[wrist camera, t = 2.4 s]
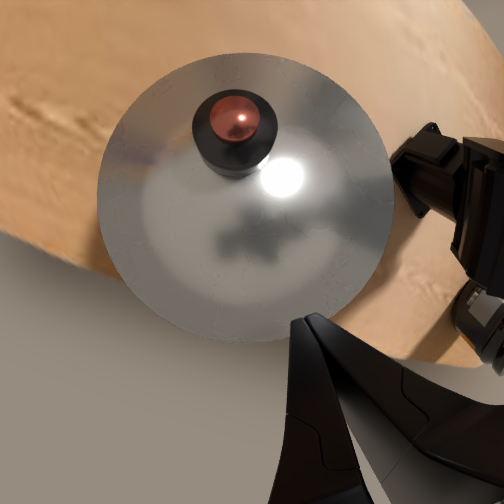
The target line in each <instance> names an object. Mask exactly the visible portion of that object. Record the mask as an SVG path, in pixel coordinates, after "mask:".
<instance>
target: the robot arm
mask: <svg viewBox="0 0 504 504" xmlns="http://www.w3.org/2000/svg"><path fill="white" fill-rule="evenodd" d="M432 127H433V130H432ZM390 165H391V170H392V176H393V178H394V179H395V181H396V182H397V184H398V186H399V187H400V189H401V191H402V193H403V194H404V196H405V198H406V200H407V201H408V203H409V205H410V207H411V209H412V210H413V212H414V214H415V216H416V217H418V218H422V217H424V215H425V214H426V213H427V212H428V211H429V210H430V209H433V210H434V211H436V212H438V213H439V214H441V215H443V216H444V217H446V218H448V219H449V220H451V221H453V222H454V223H456V227H455V232H454V238H453V242H452V243H451V247H450V250H451V251H452V253H453V254H454V255H455V257H456V258H457V260H458V261H459V262H460V264H461V265H462V267H463V268H464V270H465V271H466V275H467V276H468V277H469V278H470V279H471V280H472V281H473V282H474V284H476V285H477V287H479V288H481V289H483V290H485V291H486V294H487V295H489V296H493V297H498V298H501V299H504V141H501V140H497V139H491V138H477V137H463V144H462V143H459V142H457V139H454V138H451V137H447V136H443V135H442V134H441V132H440V130H439V128H438V126H437V124H436V123H433V122H430V123H428V124H427V125H426V126H425V127H424V129H423V130H421V131H420V132H419V133H418V134H417V135H416V136H415V137H414V138H413V139H412V140H411V141H410V142H409V143H408V144H407V145H406V146H405V147H404V149H403V150H402V151H401V152H400V153H399V154H398V155H397V156H396V158H395V159H394V160H393V161H392V162H391V163H390ZM394 166H396V168H395V170H394ZM420 211H421V212H420ZM419 213H420V214H419ZM286 414H287V415H286V418H285V431H284V439H283V446H282V451H281V456H280V460H279V465H278V468H277V472H276V476H275V480H274V483H273V487H272V491H271V494H270V498H269V501H268V504H374V502H373V500H372V498H371V496H370V494H369V492H368V490H367V487H366V485H365V482H364V479H363V476H362V473H361V470H360V466H359V463H358V459H357V456H356V453H355V450H354V447H353V443H352V440H351V437H350V434H349V430H348V427H347V424H348V426H349V428H350V429H351V431H352V433H353V435H354V437H355V438H356V440H357V442H358V444H359V446H360V447H361V450H362V451H363V453H364V455H365V457H366V459H367V460H368V462H369V464H370V466H371V468H372V469H373V471H374V473H375V475H376V477H377V478H378V480H379V482H380V483H381V486H382V488H383V489H384V491H385V492H386V495H387V497H388V498H389V500H390V502H391V504H504V405H488V404H483V403H480V402H477V401H474V400H472V399H470V398H467V397H465V396H463V395H460V394H458V393H455V392H453V391H451V390H449V389H446V388H444V387H442V386H440V385H437V384H435V383H433V382H431V381H429V380H427V379H425V378H424V377H422V376H420V375H418V374H416V373H414V372H413V371H411V370H410V369H408V368H406V367H405V366H404V367H403V366H402V365H401V364H400V363H398V362H396V361H395V360H393V359H391V358H390V357H388V356H387V355H385V354H383V353H382V352H380V351H378V350H377V349H375V348H373V347H372V346H370V345H369V344H367V343H365V342H364V341H362V340H361V339H359V338H357V337H356V336H354V335H352V334H351V333H349V332H348V331H346V330H344V329H343V328H341V327H340V326H338V325H336V324H335V323H333V322H332V321H330V320H328V319H327V318H325V317H324V316H322V315H320V314H319V313H316V312H315V313H312V314H309V315H306V316H305V317H304V318H303V317H300V318H297V319H294V320H291V322H290V342H289V368H288V388H287V405H286ZM346 422H347V424H346Z"/></svg>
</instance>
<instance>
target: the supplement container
mask: <svg viewBox="0 0 504 504" xmlns="http://www.w3.org/2000/svg"><path fill="white" fill-rule="evenodd" d="M451 323H452V326H453V328H454V330H455V331H456V332H458V333H459V334H460V335H461V337H462V338H463V339H464V340H465V341H466V342H467V343H468V344H469V346H470V347H471V348H472V349H473V350H474V351H475V352H476V354H477V355H478V356H479V357H480V360H481V361H482V362H483V363H484V364H492V368H493V369H494V371H495V372H496V373H497V374H498V376H503V375H504V299H501V298H498V297H493V296H489V295H487V294H486V291H485V290H483V289H481V288H479V287H477V285H476V284H474V282H473V281H472V280H470V281H469V283H468V284H467V285H466V286H465V288H464V289H463V290H462V292H461V293H460V295H459V297H458V299H457V301H456V303H455V305H454V308H453V311H452V316H451Z"/></svg>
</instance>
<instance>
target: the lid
mask: <svg viewBox="0 0 504 504" xmlns="http://www.w3.org/2000/svg"><path fill="white" fill-rule="evenodd" d="M394 202H395V199H394V181H393V176H392V170H391V165H390V161H389V158H388V155H387V152H386V149H385V146H384V144H383V142H382V140H381V137H380V135H379V133H378V131H377V129H376V128H375V126H374V124H373V123H372V121H371V120H370V118H369V117H368V115H367V114H366V112H365V111H364V110H363V109H362V108H361V106H360V105H359V104H358V103H357V102H356V100H355V99H354V98H352V97H351V96H350V95H349V94H348V93H347V92H346V91H345V90H344V89H343V88H342V87H340V86H339V85H338V84H336V83H335V82H334V81H332V80H331V79H330V78H328V77H327V76H325V75H323V74H321V73H320V72H318V71H316V70H314V69H313V68H310V67H308V66H306V65H303V64H301V63H298V62H296V61H293V60H289V59H286V58H282V57H278V56H273V55H266V54H259V53H233V54H223V55H218V56H213V57H208V58H204V59H201V60H198V61H195V62H192V63H189V64H187V65H185V66H183V67H181V68H179V69H177V70H174V71H172V72H171V73H169V74H168V75H166V76H164V77H163V78H161V79H160V80H158V81H157V82H155V83H154V84H153V85H152V86H151V87H149V88H148V89H147V90H146V91H145V92H143V93H142V94H141V95H140V96H139V97H138V98H137V99H136V101H135V102H134V103H133V104H132V105H131V106H130V107H129V108H128V110H127V111H126V113H125V114H124V115H123V117H122V118H121V120H120V121H119V122H118V124H117V126H116V128H115V130H114V132H113V133H112V135H111V137H110V139H109V142H108V144H107V147H106V150H105V152H104V155H103V159H102V163H101V167H100V171H99V177H98V187H97V211H98V218H99V224H100V229H101V234H102V237H103V240H104V243H105V246H106V249H107V252H108V254H109V256H110V258H111V260H112V262H113V264H114V266H115V268H116V270H117V272H118V273H119V275H120V276H121V278H122V279H123V281H124V282H125V283H126V285H127V286H128V287H129V288H130V290H131V291H132V292H133V293H134V294H135V295H136V296H137V297H138V299H139V300H140V301H141V302H142V303H144V304H145V305H146V306H147V307H148V308H150V309H151V310H152V311H153V312H154V313H156V314H157V315H158V316H160V317H162V318H163V319H165V320H166V321H168V322H169V323H171V324H173V325H174V326H177V327H179V328H181V329H183V330H186V331H188V332H190V333H192V334H195V335H199V336H202V337H205V338H208V339H212V340H217V341H224V342H231V343H261V342H269V341H275V340H280V339H284V338H287V337H290V322H291V320H294V319H297V318H300V317H303V318H304V317H305V316H306V315H309V314H312V313H315V312H316V313H319V314H320V315H322V316H324V317H325V318H327V319H329V318H331V317H333V316H334V315H335V314H336V313H338V312H339V311H340V310H341V309H343V308H344V307H345V306H346V305H348V304H349V303H350V302H351V301H352V299H353V298H354V297H355V296H356V295H357V294H358V293H359V292H360V291H361V290H362V289H363V287H364V286H365V285H366V283H367V282H368V280H369V279H370V278H371V276H372V275H373V273H374V271H375V269H376V268H377V266H378V264H379V262H380V260H381V258H382V256H383V253H384V251H385V248H386V245H387V242H388V240H389V236H390V232H391V227H392V222H393V215H394Z"/></svg>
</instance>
